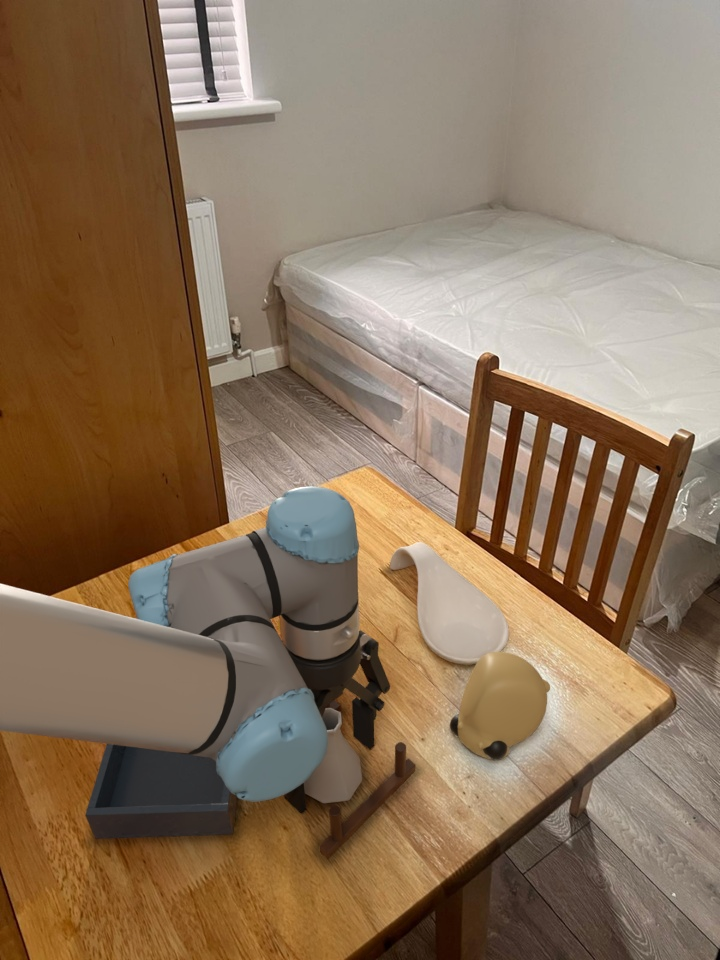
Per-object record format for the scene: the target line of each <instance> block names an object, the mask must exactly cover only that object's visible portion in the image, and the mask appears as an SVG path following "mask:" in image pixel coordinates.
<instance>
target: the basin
mask: <svg viewBox="0 0 720 960" xmlns="http://www.w3.org/2000/svg"><path fill="white" fill-rule="evenodd" d="M98 768H99V769H98V771H97V775H96V778H95V781H94V784H93V788H92V792H91V795H90V798H89V801H88V803H87V804H88V805H87V808H86V812H85V818H86V821H87V823H88V826H89V828H90V830H91V832H92V834H93V835H92V836H93V838H94V839H95V840H110V839H111V840H112V839H138V838H139V839H142V838H171V837H201V836H202V837H203V836H205V837H206V836H230V835H232V836H233V834H234V828H235V821H236V812H237V805H238V797H237V795H234V794H233V793H231V792H230V791H229V790H228V788H227V787H226V785H225V783H224V781H223V780H222V778H221V776H219V775H218V774H217V771H216V761H215V760H214V759H212V758H209V757H201V756H194V755H189V754H181V753H177V752H170V751H161V750H153V749H145V748H137V747H129V746H121V745H113V744H105V748H104V751H103V755H102V758H101V761H100V765H99V767H98Z"/></svg>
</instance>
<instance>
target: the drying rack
mask: <svg viewBox="0 0 720 960" xmlns="http://www.w3.org/2000/svg"><path fill="white" fill-rule="evenodd" d="M326 708H332V709H334V710H336V711H338V712H340V713H341V712H342V705H341V704H340V703H339V702H337V701H336V699H335V700H333V701H332V702H331V703H330V704H329V705H328V706H327V707H326ZM414 772H416V763H415V762H413V760H411V759H409V758H407V745H406V744H405V742H402V741H399V742H397V743H395V745H394V771H393V772H392V773H391V774H390V776H388V777H387V778H386V779H385V780H384V781H383V782H382V783H381V784H380V785H379V786H378V787H377V788H376V789H375V790H374V791H373V792H372V793H371V794H370V795H369V796H368V797H367V798H366V799H365V800H364V801H363V802H362V803H361V804H360V805H359V806H358V807H357V808H356V809H355V810H354V811H353V812H352V813H351V814H350V815H349V816H348V817H347V818H346V819H345V820H344V821H343V820H342V808H341V806H339V805H337V804H333V805H331V806H330V807H329V808H328V815H329V827H330V828H329V830H330V835H329V836H328V837H327V838H326V839H325V840H324V841H322V843H321V844H319V848H318V849H319V853H320V855H322V856H323V857H324V858H325V859H326V860H329V859H330V858H331V857H332V856H333V855H334V854H335V853H337V851H338V850H339V849H340V848H341V847H342V846H343V845H344V844H345V843H346V842H347V841H348V840H349V838H351V837H352V835H353V834H355V832H357V830H359V828H361V827H362V825H363V824H365V822H366V821H367V820H368V819H370V817H371V816H373V814H374V813H375V812H376V811H377V810H378V809H379V808H381V806H382V805H383V804H384V803H386V801H387V800H388V799H389V798H390V797H391V796H392V795H393V794H394V793H395V792H396V791H397V790H398V789H399V788H400V787H401V786H402V785H403V784H404V783H405V781H407V780H408V779H409V777H410V776H411V775H413V773H414Z"/></svg>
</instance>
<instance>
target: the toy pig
mask: <svg viewBox="0 0 720 960" xmlns="http://www.w3.org/2000/svg"><path fill="white" fill-rule="evenodd" d="M550 690H551V684H550V683H549V682H548V681H547V680H546V679H544V678H543V677H542V676H541V674H540V673H539V671H538V670H537V668H535V667H534V666H533V665H532V664H531V663H530V662H529V661H527V659H525V658H523V657H522V656H519V655H517V654H514V653H511V652H505V651H501V652H490V653H487V654H485V655H483V656H482V657H481V658H480V659H479V660H478V662H477V664H474V666H473V669H472V670H471V673H470V675H469V678H468V680H467V682H466V685H465V687H464V690H463V693H462V696H461V702H460V706H459V707H460V708H459V713H458V714H455V715H454V716H453V717H452V718H451V720H450V722H449V730H450V731H451V733H452V734H453V735H454V736H455V737H457V738H458V739H459V741H460V742H461V743H462V744H463V745H464V746H465V747H466V748H467V749H468V750H469V751H471V752H473V753H474V754H476V755H478V756H480V757H483V758H485V759H488V760H493V761H499V760H502V759H504V758H506V757H507V756H509V753H510V747H512V746H514V745H516V744H519V743H521V742H523V741H525V740H526V739H528V738H529V737H530V736H532V735H533V733H534V732H536V731H537V729H538V728H539V726H540V725H541V723H542V722H543V720H544V717H545V714H546V711H547V708H548V707H547V706H548V692H550Z"/></svg>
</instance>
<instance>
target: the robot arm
mask: <svg viewBox="0 0 720 960" xmlns="http://www.w3.org/2000/svg"><path fill="white" fill-rule="evenodd" d="M266 518H267V519H266V521H265V526H264V527H262V528H258V529H255V530H252V532H250V533H247V534H242V535H239V536H236V537H233V538H230V539H226V540H222V541H219V542H216V543H213V544H210V545H206V546H203V547H199V548H196V549H193V550H189V551H186V552H182V553H179V554H178V553H173V554H171V555H170V556H169V557H168V558H165V559H162V560H160V561H156V562H154V563H151V564H149V565H145V566H143V567H140V568H138V569H136V570H134V571H133V572H132V573H131V575H130V577H129V579H128V583H127V585H128V591H129V592H128V593H129V597H130V599H131V603H132V606H133V610H134V613H135V617H136V618H135V617H131V616H127V615H123V614H119V613H116V612H112V611H108V610H104V609H100V608H97V607H93V606H88V605H85V604H80V603H78V602H73V601H70V600H66V599H62V598H58V597H53V596H50V595H46V594H43V593H39V592H35V591H31V590H27V589H23V588H19V587H16V586H11V585H8V584H4V583H0V731H1V732H6V733H7V732H8V733H16V734H22V735H23V734H24V735H32V736H33V735H34V736H38V737H39V736H40V737H48V738H58V739H64V740H73V741H81V742H89V743H97V744H104V745H107V744H113V745H121V746H129V747H137V748H145V749H153V750H161V751H170V752H177V753H181V754H189V755H194V756H201V757H209V758H212V759H214V760H215V761H216V771H217V774H218V775H219V776H221V778H222V780H223V781H224V783H225V785H226V787H227V788H228V790H229V791H230V792H231V793H233V794H234V795H237V799H239V800H242V801H246V802H255V803H256V802H257V803H259V802H264V801H269V800H275V799H276V798H280V797H282V796H284V799H285V801H286V802H288V803H289V804H290V805H291V806H292V807H293V808H294V809H295V810H296V811H297V813H299V814H300V815H303V814H304V813H305V812H306V811H307V801H306V794H305V790H304V782H305V781H306V780H307V779H308V778H309V777H310V776H311V775H312V773H313V771H314V770H315V769H316V768H317V767H318V766H319V765H320V764H321V762H322V761H323V759H324V756H325V754H326V751H327V747H328V732H327V729H326V726H325V724H324V722H323V719H322V717H323V714H324V711H325V709H326V707H327V706H328V705H329V704H330V703H331V702H332V701H333V700H335V701H336V700H337V699H339V698H340V697H341V696H342V695H343V694H344V691H345V690H347V691H349V692H350V693H351V694H353V695H354V696H356V697H354V698H353V699H352V700H351V715H352V736H353V738H354V739H356V740H357V741H358V742H360V743H361V744H362V746H364V747H365V748H367V749H368V750H369V751H371V750H372V749H373V748H374V747H375V721H376V719H377V716H378V712H381V711H382V710H383V708H384V707H385V705H386V702H385V701H384V700H383V699H381V698H380V696H381V695H382V694H383V695H385V694H387V693H388V692H389V691H390V689H391V683H390V681H389V679H388V676H387V674H386V671H385V669H384V667H383V664H382V662H381V659H380V656H379V644H380V643H379V641H378V640H376V639H374V638H373V637H372V636H370V635H369V634H367V633H365V632H364V631H363V630H362V629H361V630H360V603H359V602H360V601H359V600H360V599H359V568H358V567H359V560H358V559H359V557H358V554H359V550H360V541H359V538H358V530H357V529H358V528H357V522H356V517H355V511H354V509H353V506H352V504H351V503H350V501H349V500H347V498H346V497H344V495H342V494H340V493H339V492H337V491H335V490H333V489H330V488H327V487H323V486H314V485H311V486H301V487H300V486H299V487H295V488H292V489H290V490H287V491H285V492H284V493H283V494H282V496H281V497H278V498H275V499H274V500H273V501H272V502H271V504H270V505H269V508H268V510H267V514H266ZM276 617H277V618H278V623H279V624H280V631H279V633H280V635H279V633H278V631H277V628H276V627H275V625H274V623H273V621H272V619H274V618H276ZM359 667H361V670H362V672H363V675H364V677H365V678H366V679H365V680H366V682H367V683H368V684H367V685H366V686H364V685H363V684H362V683H360V682H359V681H357V680H356V679H355V678H353V677H354V676H355V674H356V673H357V671H358V669H360V668H359Z"/></svg>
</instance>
